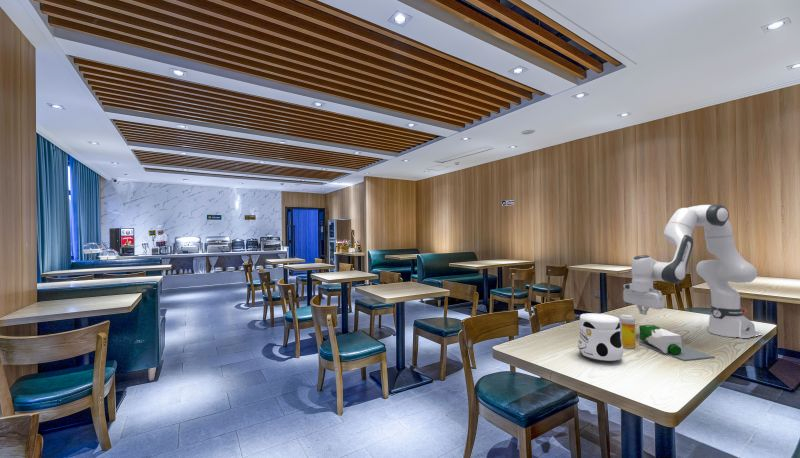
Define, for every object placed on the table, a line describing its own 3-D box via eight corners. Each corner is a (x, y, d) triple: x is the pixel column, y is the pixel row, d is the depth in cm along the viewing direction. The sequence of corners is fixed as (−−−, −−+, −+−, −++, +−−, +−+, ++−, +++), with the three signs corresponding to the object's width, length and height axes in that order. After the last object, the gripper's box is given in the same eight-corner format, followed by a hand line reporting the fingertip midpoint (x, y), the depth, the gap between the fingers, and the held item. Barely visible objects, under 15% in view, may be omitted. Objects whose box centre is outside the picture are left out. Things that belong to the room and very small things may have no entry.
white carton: (638, 341, 171) (666, 356, 151) (637, 323, 171) (665, 335, 151) (656, 340, 170) (687, 355, 150) (655, 322, 170) (686, 335, 150)
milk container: (569, 354, 156) (568, 314, 156) (597, 349, 162) (596, 311, 162) (604, 368, 140) (602, 324, 140) (633, 361, 146) (632, 319, 146)
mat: (666, 342, 170) (666, 340, 170) (714, 357, 148) (714, 356, 148) (639, 344, 167) (639, 343, 167) (684, 361, 145) (684, 359, 145)
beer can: (637, 349, 161) (637, 317, 161) (623, 348, 162) (622, 317, 162) (631, 345, 166) (631, 314, 167) (618, 344, 168) (617, 314, 168)
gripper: (667, 290, 164) (667, 319, 164) (630, 284, 184) (631, 309, 184) (656, 291, 163) (657, 319, 163) (620, 284, 183) (621, 310, 183)
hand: (643, 314), depth 174 cm, fingers closed
